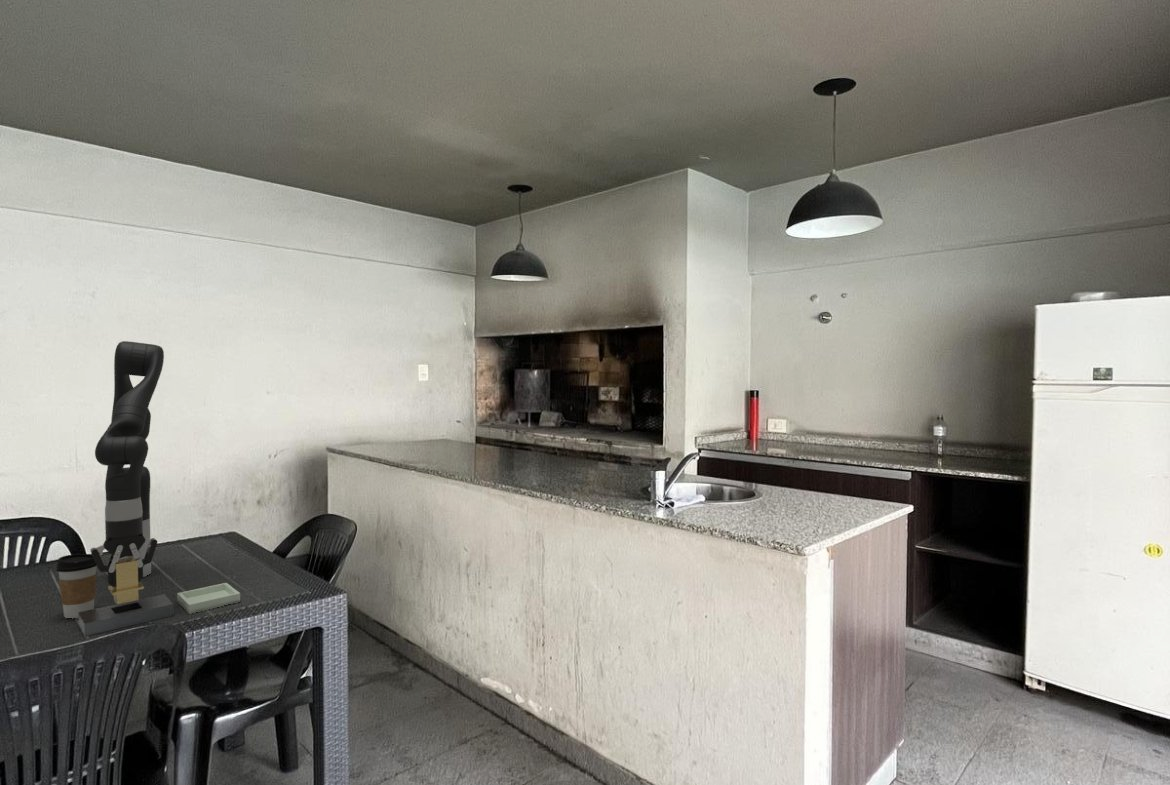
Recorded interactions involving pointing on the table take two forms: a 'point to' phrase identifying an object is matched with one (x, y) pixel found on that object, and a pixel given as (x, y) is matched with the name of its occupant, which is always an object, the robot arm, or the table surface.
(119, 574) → the brass plug
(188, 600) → the parts tray
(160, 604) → the grey metal block
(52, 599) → the table surface
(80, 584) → the coffee cup
